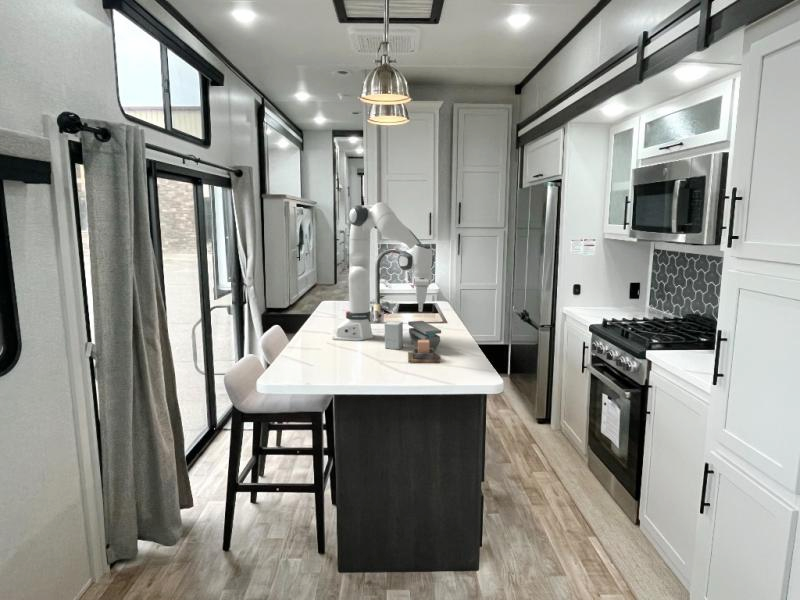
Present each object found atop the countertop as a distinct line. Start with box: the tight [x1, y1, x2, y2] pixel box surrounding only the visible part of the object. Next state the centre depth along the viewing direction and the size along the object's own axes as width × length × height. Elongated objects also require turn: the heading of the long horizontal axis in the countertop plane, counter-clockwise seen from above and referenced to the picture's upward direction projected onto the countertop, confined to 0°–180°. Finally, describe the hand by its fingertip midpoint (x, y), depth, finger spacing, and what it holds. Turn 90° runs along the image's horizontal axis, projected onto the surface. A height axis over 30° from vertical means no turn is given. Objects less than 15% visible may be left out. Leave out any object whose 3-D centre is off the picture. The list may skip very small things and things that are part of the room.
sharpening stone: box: [407, 320, 442, 350], centre depth 247 cm, size 25×8×11 cm, turn 18°
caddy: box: [407, 347, 441, 364], centre depth 226 cm, size 14×14×4 cm
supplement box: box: [384, 320, 404, 350], centre depth 246 cm, size 7×7×13 cm
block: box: [418, 340, 429, 353], centre depth 226 cm, size 5×5×7 cm
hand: (420, 309), depth 228 cm, fingers open, 8 cm apart
